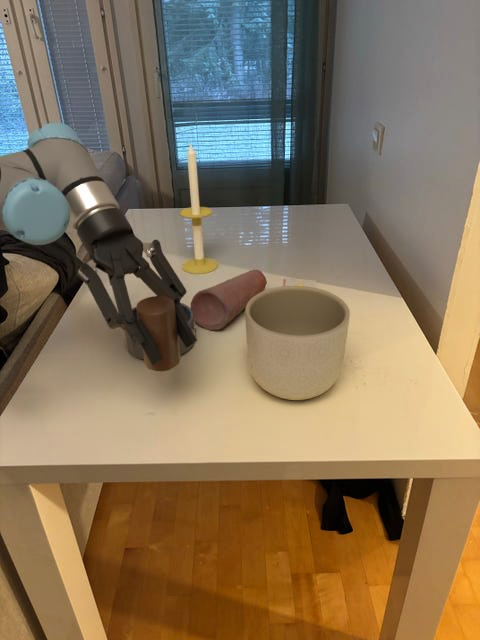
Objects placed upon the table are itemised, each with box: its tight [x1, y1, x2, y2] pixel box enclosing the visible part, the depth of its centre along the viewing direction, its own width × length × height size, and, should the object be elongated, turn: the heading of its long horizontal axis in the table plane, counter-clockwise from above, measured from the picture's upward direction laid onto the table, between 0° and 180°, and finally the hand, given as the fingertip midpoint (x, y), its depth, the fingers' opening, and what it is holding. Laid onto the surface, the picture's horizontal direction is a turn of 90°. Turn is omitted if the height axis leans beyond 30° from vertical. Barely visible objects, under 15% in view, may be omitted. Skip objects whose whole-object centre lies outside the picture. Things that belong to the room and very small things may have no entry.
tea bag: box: [282, 278, 317, 288], centre depth 100 cm, size 4×7×10 cm, turn 79°
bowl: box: [122, 302, 197, 360], centre depth 95 cm, size 14×14×6 cm
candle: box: [179, 141, 219, 275], centre depth 120 cm, size 10×10×32 cm
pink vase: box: [190, 269, 268, 331], centre depth 105 cm, size 21×9×9 cm, turn 152°
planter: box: [244, 285, 351, 401], centre depth 80 cm, size 17×17×15 cm
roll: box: [135, 295, 181, 372], centre depth 70 cm, size 6×6×10 cm
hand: (175, 352), depth 68 cm, fingers closed on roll, 5 cm apart
